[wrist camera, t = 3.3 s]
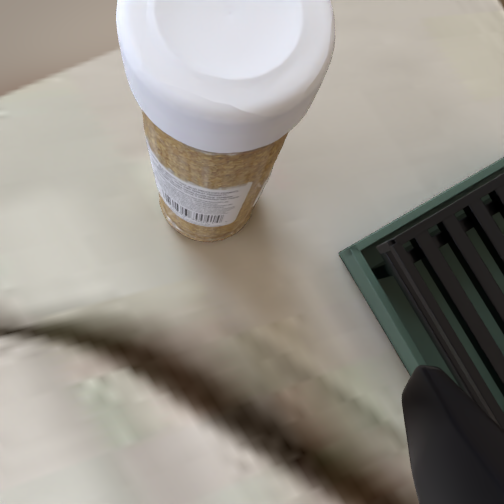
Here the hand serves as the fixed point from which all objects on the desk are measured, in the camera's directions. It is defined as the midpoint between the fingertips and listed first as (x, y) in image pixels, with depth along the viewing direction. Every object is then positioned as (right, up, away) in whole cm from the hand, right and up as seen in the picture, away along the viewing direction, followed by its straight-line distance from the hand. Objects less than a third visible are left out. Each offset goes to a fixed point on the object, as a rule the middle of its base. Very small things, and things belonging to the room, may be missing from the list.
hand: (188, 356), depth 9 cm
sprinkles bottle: (-1, +5, +14) cm, 14 cm away
